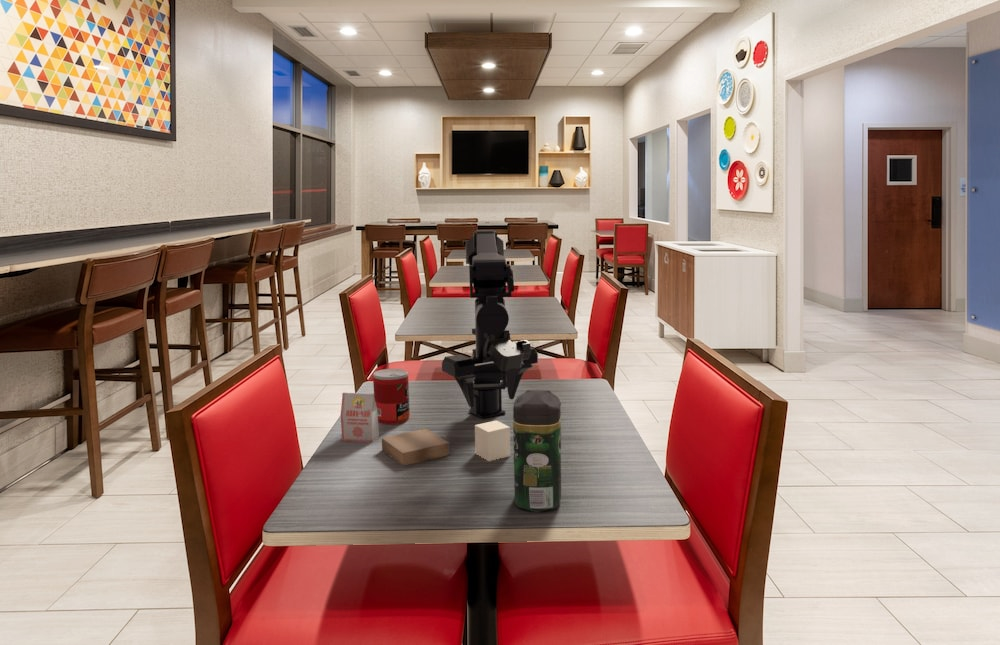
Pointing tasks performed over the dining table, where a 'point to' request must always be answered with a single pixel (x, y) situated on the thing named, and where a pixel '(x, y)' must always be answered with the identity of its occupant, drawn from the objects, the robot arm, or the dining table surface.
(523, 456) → the coffee jar
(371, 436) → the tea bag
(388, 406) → the canned food
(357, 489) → the dining table surface
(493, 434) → the cream block
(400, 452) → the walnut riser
